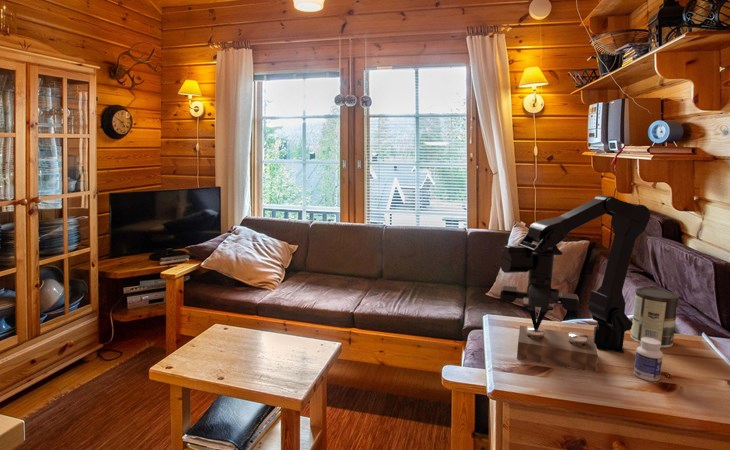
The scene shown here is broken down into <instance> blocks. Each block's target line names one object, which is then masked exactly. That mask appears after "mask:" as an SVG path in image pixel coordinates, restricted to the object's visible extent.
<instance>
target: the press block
mask: <svg viewBox="0 0 730 450" xmlns="http://www.w3.org/2000/svg"><path fill="white" fill-rule="evenodd" d="M528 326H529V325H528ZM528 326H527V325H519V332H518V340H517V352H516V359H517V360H524V361H528V362H533V363H534V362H535V363H540V364H547V365H551V366H556V367H563V368H569V369H572V370H573V369H574V370H580V371H586V372H590V373H597V367H598V359H599V358H598V356H599V354H598V349H597V348H596V344H595V343H594V340H593V336H592V335H588V334H586V335H587V336H588V339H587V344H584V345H575V344H572V342H570V341H569V340H568V333H569V332H567V331H561V330H560V331H559V330H554V329H546V328H543V329H544V330H545V334H544V337H542V338H540V339H537V338H531V336H529V335H527V333H526V332H527V327H528Z"/></svg>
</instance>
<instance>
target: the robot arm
mask: <svg viewBox="0 0 730 450" xmlns="http://www.w3.org/2000/svg"><path fill="white" fill-rule="evenodd" d="M604 215H608V216H610V217H611V222H610V223H611V227H612V232H613V234H614V235H613V238H612V243H611V247H610V251H609V254H608V258H607V263H606V267H605V271H604V274H603V279H602V283H601V285H600V286H599V287H598V288H597V289H596V290H590V293H589V299H588V301H587V302H586V304H587V305H588V307H587V308H588V311H589V313H590V315H591V316H592V321H593V320H594V321H596V322H597V323H596V326H594V327H593V328H594V329H593V336H592V337H593V340H594V344H595V347H596V349H597V350H598V349H599V350H602V351H603V350H605V351H610V352H617V353H625V350H624V340H625V333H626V331H627V332H629V331H631V330H632V325H633V323H632V321H633V320H631V319H630V318H629V317H628V316H627V314H626V313H625V311H626V304H627V303H626V301H625V297H624V294H623V289H624V285H625V282H626V278H627V274H628V270H629V266H630V262H631V258H632V255H633V251H634V247H635V243H636V240H637V238H638V237H640V236H641V234H643V233H644V231H645V230H646V228H647V226H648V223H649V221H650V219H651V211H650V210H649V208H648V207H647V206H646V205H644V204H638V203H634V202H633V203H632V202H627V201H624V200H621V199H618V198H616V197H614V196H611V195H603V194H600V195H597V196H595V197H594V198H593V199H591V200H589V201H587V202H585V203H583V204H581V205H579V206H577V207H575V208H572V209H571V210H569V211H568V212H565V213H563V214H561V215H559V216H556V217H551V218H544V219H541V220H538V221H535V222H533V223H531V224H530V226H528V227H529V228H528V231H527V232H526V233H525V235H523V238H522V239H520V241H519V243H518V244H517V245H515V246H514V245H504V250H503V251H502V252H501V254H500V256H499V267H500V269H501V271H502V272H503V273H504V274H506V273H507V274H510V273H511V274H513V273H514V274H515V273H516V274H517V273H528V276H527V277H528V278H527V286H526V291H521V290H520V291H518V287H517V286H511V285H510V286H509V285H504V286H502V287H501V290H500V294H499V295H500V296H499V301H501V302H505V303H506V302H507V303H514V302H516V299H518V300H522V302H523V303H522V306H523V307H524V308H527V310H528V312H529V315H530V318H531V321H532V326H534V329H535V330H538V328H539V327H541V324H542V322H543V319H544V318H545V316H546V314H547V313H548V312H549V311H554V305H555V304H558V305H561V306H562V308H563V310H566V311H575V312H578V311H580V299H579V296H578V294H577V293H568V292H561V295H560V290H559V288H552V284H553V275H554V274H553V273H554V264H555V256H562V255H563V251H562V250H561V249H559V248H558V245H559V244H560V243H562V242H563V241H564V240H565V239H566V238H567V236H568V234H570V233H571V232H572V231H574V230H576V229H579V228H580V227H582V226H584V225H585V224H588V223H589V222H592V221H594V220H596V219H599V218H600V217H602V216H604ZM537 308H539V309H538V313H537Z"/></svg>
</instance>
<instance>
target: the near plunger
mask: <svg viewBox="0 0 730 450" xmlns="http://www.w3.org/2000/svg"><path fill="white" fill-rule="evenodd" d="M587 335H588V334H585V333H583V332H578V331H570V332H568V340H569V341H570V342H572V344H575V345H584V344H587V339H588V336H589V335H588V336H587Z"/></svg>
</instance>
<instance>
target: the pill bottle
mask: <svg viewBox="0 0 730 450" xmlns="http://www.w3.org/2000/svg"><path fill="white" fill-rule="evenodd" d="M639 344H640V345H639V346H638V347H637V348H636V351H635V360H634V366H633V367H634V368H633V374H634V375H635V376H636V377H638V378H639V379H641V380H645V381H649V382H657V381H660V379H661V373H662V365H663V358H664V353H663V352H662V350H661V342H660V341H658V340H656V339H653V338H647V337H644V338H641V342H640V343H639Z"/></svg>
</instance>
